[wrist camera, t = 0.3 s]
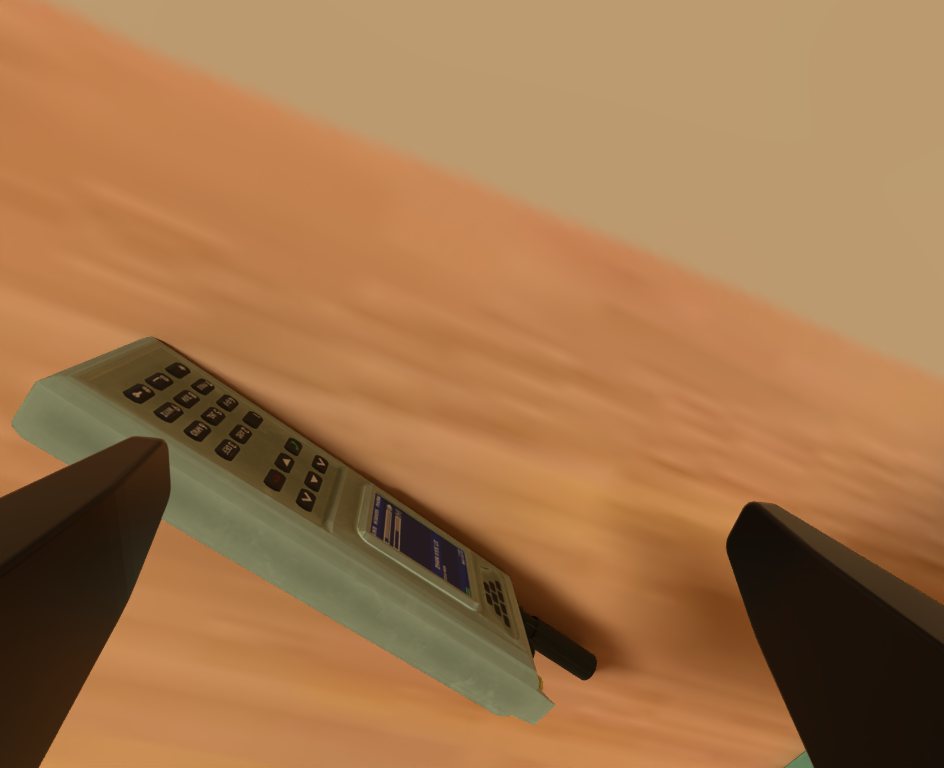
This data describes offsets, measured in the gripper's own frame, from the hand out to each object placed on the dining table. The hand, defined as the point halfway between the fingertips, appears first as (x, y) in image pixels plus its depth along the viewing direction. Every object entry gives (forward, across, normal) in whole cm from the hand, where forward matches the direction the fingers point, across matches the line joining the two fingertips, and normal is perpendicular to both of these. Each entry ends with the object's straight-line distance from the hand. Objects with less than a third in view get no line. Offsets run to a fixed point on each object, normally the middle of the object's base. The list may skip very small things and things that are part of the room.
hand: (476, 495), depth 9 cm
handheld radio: (+13, +1, +12) cm, 18 cm away
